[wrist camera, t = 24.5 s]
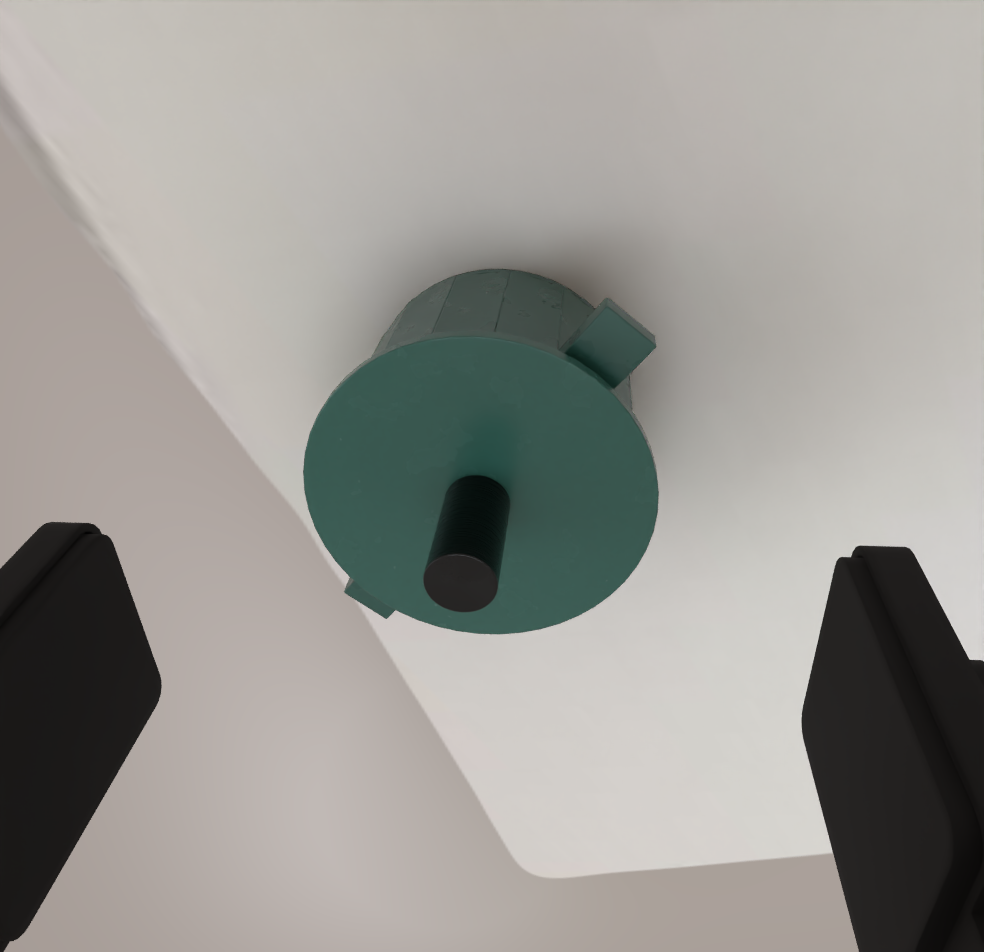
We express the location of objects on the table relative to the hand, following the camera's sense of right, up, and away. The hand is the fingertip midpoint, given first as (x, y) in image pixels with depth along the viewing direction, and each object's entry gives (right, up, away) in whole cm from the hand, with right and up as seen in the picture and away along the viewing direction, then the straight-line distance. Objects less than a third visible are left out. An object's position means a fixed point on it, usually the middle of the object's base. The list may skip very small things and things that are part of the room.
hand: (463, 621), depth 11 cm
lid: (0, +1, +22) cm, 22 cm away
